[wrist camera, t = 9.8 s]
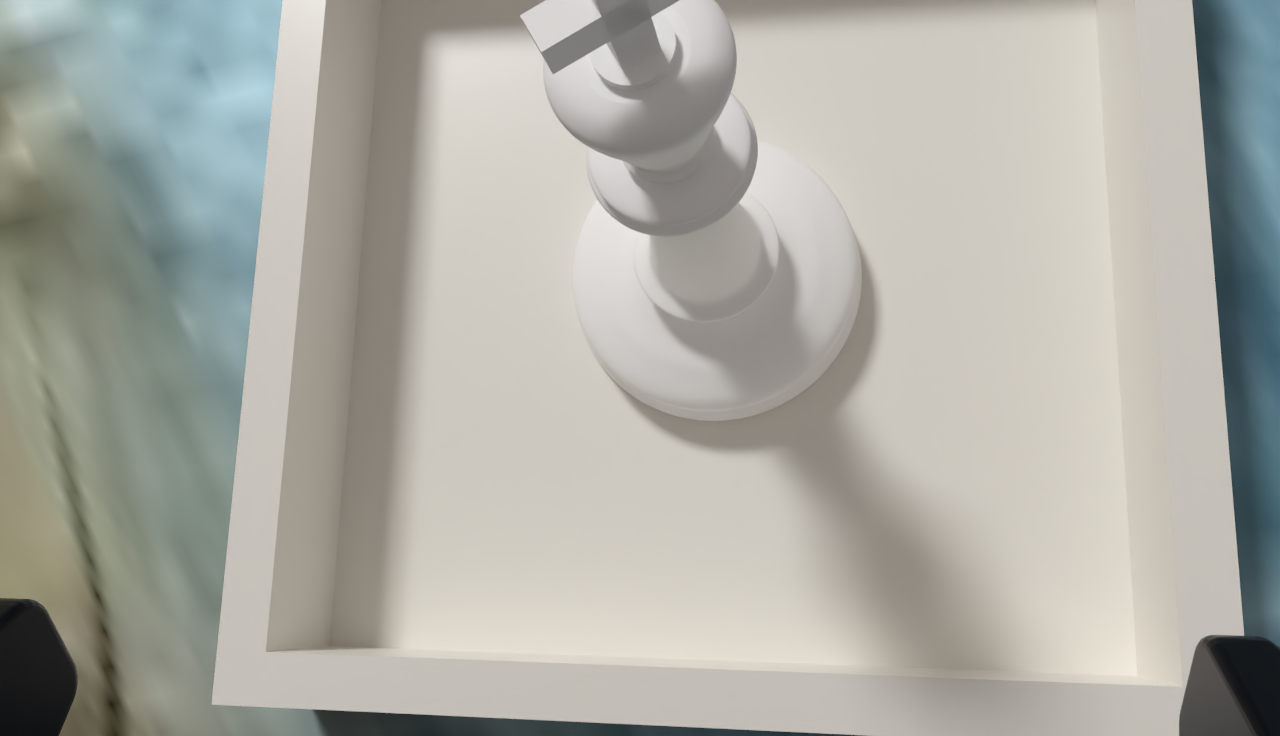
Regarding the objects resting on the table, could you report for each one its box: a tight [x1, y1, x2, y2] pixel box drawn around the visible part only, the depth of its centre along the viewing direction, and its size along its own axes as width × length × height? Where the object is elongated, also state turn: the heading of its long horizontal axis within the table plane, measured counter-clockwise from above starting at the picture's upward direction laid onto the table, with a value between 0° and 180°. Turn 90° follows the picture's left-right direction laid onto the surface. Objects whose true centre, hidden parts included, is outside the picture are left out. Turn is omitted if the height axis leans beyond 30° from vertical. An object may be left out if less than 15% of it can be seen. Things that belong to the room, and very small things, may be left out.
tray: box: [212, 0, 1244, 736], centre depth 18 cm, size 15×15×3 cm
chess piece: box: [520, 0, 862, 421], centre depth 14 cm, size 5×5×10 cm
